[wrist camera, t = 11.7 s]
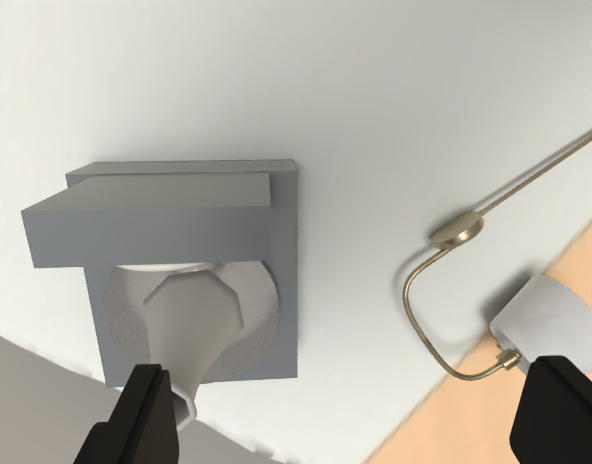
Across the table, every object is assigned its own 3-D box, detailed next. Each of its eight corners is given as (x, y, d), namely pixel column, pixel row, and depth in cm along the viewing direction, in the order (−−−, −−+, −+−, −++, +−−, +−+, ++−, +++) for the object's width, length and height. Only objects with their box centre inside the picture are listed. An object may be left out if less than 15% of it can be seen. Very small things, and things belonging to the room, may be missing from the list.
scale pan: (277, 225, 29) (277, 230, 29) (280, 371, 34) (280, 380, 33) (95, 230, 29) (89, 234, 28) (121, 379, 33) (117, 388, 32)
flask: (260, 328, 31) (258, 430, 22) (179, 366, 32) (143, 482, 22) (213, 252, 29) (188, 329, 19) (126, 294, 29) (61, 390, 20)
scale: (292, 159, 33) (310, 202, 20) (293, 343, 39) (307, 470, 26) (94, 162, 32) (-24, 209, 19) (126, 351, 38) (52, 487, 25)
